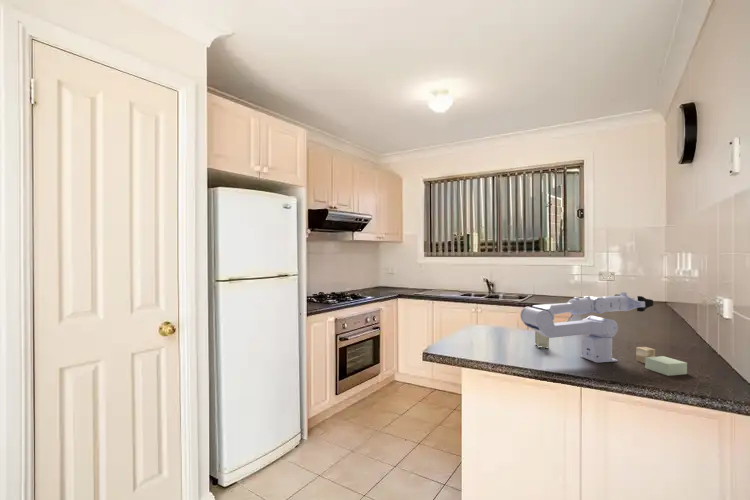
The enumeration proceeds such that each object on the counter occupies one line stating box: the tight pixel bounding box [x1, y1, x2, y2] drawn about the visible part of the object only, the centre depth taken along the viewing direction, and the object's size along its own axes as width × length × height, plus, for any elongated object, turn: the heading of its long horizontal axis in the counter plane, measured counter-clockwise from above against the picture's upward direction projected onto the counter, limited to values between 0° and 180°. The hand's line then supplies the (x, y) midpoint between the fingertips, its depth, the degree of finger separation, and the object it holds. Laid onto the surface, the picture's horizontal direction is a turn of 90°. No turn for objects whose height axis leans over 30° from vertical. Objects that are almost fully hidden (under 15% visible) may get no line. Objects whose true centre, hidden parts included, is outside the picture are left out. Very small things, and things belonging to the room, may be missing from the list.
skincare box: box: [534, 330, 550, 349], centre depth 160 cm, size 6×4×12 cm
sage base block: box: [644, 355, 688, 377], centre depth 130 cm, size 8×8×4 cm
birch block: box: [635, 346, 656, 364], centre depth 140 cm, size 4×4×5 cm
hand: (642, 301), depth 147 cm, fingers open, 7 cm apart
